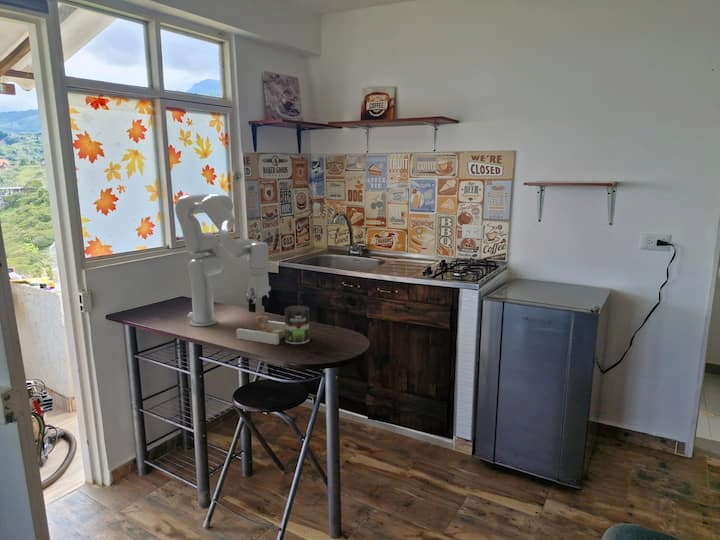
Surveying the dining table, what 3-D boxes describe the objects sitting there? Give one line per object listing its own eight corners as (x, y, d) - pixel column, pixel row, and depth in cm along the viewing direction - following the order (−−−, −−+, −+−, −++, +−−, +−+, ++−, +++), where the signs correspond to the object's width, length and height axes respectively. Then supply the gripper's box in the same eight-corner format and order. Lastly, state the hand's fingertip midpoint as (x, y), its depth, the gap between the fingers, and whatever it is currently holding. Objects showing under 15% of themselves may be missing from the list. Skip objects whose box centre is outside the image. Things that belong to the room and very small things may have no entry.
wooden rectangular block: (255, 336, 217) (255, 317, 215) (261, 333, 221) (260, 314, 219) (279, 339, 212) (279, 320, 211) (284, 336, 216) (284, 318, 214)
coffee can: (311, 343, 208) (310, 310, 205) (286, 345, 205) (285, 312, 202) (307, 335, 217) (307, 304, 215) (284, 337, 215) (283, 305, 212)
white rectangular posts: (236, 338, 213) (236, 329, 212) (259, 327, 229) (259, 319, 228) (276, 344, 206) (276, 335, 205) (297, 332, 221) (297, 324, 220)
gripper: (263, 266, 222) (262, 302, 226) (239, 273, 206) (239, 312, 210) (277, 268, 219) (276, 305, 223) (254, 275, 204) (254, 315, 207)
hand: (258, 309), depth 217 cm, fingers open, 9 cm apart
